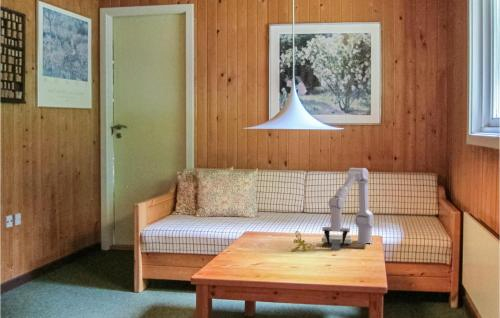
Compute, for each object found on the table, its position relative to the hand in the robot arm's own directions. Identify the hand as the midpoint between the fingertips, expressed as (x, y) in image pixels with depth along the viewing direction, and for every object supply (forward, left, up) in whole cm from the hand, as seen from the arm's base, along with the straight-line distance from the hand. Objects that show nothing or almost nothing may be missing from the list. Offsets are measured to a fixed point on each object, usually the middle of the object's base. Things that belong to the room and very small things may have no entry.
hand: (335, 244), depth 292 cm
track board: (-10, +4, -2) cm, 11 cm away
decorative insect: (+10, -16, -3) cm, 19 cm away
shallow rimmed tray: (-10, 0, -1) cm, 10 cm away
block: (0, 0, -2) cm, 2 cm away
